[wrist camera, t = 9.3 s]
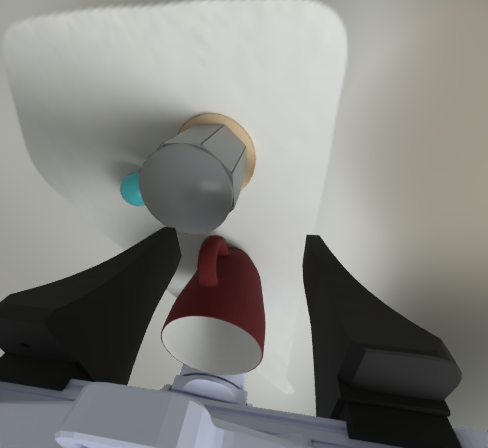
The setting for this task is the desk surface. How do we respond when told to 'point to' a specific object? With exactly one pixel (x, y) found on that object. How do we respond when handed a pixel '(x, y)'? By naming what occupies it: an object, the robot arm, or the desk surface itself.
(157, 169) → the faceted grey cylinder
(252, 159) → the tan round coaster
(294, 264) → the desk surface
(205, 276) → the mug
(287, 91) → the desk surface
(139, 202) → the marble
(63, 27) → the desk surface
